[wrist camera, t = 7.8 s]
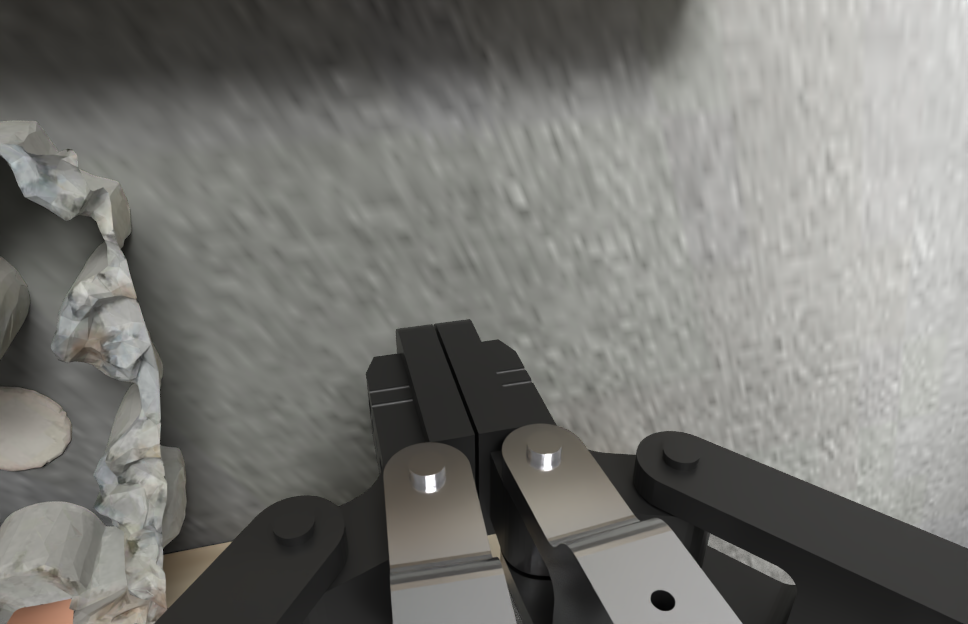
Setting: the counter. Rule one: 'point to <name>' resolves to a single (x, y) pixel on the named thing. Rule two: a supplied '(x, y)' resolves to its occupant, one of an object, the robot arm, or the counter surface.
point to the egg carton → (47, 430)
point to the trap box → (180, 573)
